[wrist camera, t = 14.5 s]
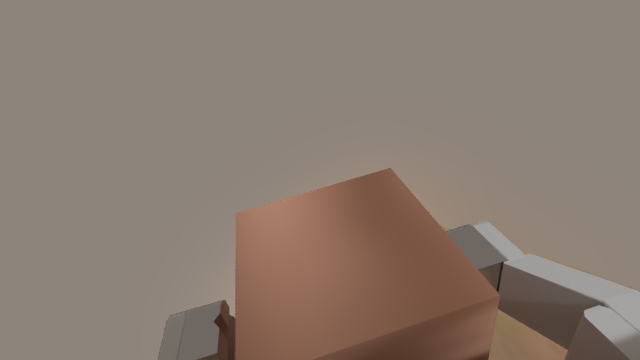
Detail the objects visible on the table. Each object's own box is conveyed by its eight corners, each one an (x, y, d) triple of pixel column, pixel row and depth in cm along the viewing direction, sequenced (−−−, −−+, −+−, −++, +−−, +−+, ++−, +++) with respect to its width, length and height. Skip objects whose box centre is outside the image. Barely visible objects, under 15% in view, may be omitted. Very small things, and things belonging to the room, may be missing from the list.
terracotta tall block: (333, 521, 11) (235, 385, 5) (306, 373, 15) (235, 213, 10) (467, 469, 11) (500, 295, 6) (405, 339, 15) (390, 168, 10)
